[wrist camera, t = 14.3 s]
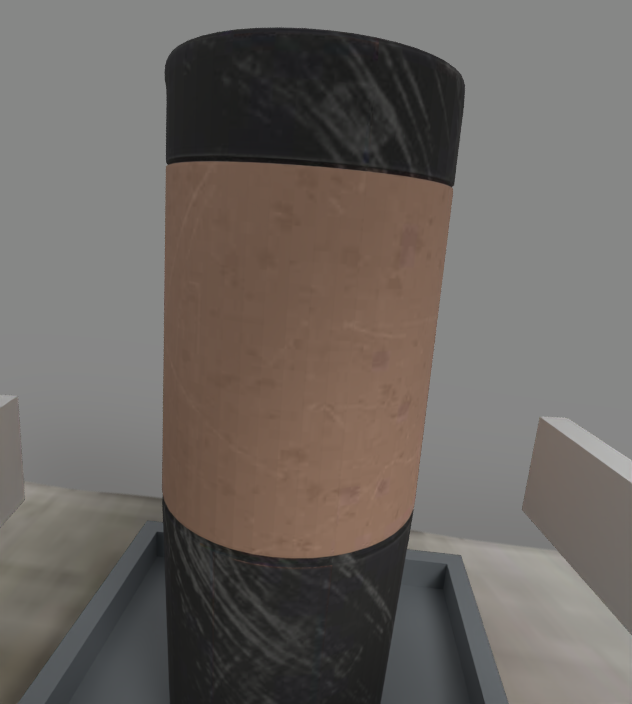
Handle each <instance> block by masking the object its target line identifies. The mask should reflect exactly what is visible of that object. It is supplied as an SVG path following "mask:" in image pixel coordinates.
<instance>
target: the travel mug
mask: <svg viewBox="0 0 632 704" xmlns="http://www.w3.org/2000/svg"><path fill="white" fill-rule="evenodd" d="M165 82H166V89H167V115H166V116H167V119H166V121H167V122H166V163H167V164H168V165H167V166H166V206H165V210H166V211H165V217H166V218H165V292H164V293H165V294H164V295H165V296H164V377H163V379H164V380H163V462H162V467H163V468H162V492H163V502H162V504H163V532H164V560H165V588H166V616H167V645H168V673H169V696H170V704H380V703H381V698H382V692H383V686H384V680H385V675H386V669H387V663H388V657H389V651H390V645H391V639H392V634H393V628H394V622H395V616H396V610H397V604H398V598H399V593H400V587H401V581H402V575H403V569H404V563H405V557H406V552H407V546H408V540H409V534H410V528H411V522H412V516H413V508H414V503H415V496H416V488H417V479H418V472H419V463H420V456H421V448H422V440H423V432H424V424H425V416H426V407H427V399H428V391H429V383H430V375H431V367H432V359H433V351H434V343H435V335H436V326H437V318H438V310H439V301H440V294H441V285H442V277H443V270H444V262H445V254H446V245H447V237H448V229H449V221H450V213H451V205H452V197H453V188H452V186H454V181H455V173H456V165H457V156H458V149H459V141H460V132H461V125H462V117H463V108H464V95H465V84H464V80H463V78H462V76H461V74H460V73H459V72H458V71H457V70H456V69H455V68H454V67H453V66H451V65H450V64H449V63H447V62H446V61H444V60H442V59H440V58H438V57H436V56H434V55H432V54H430V53H427V52H425V51H422V50H420V49H417V48H414V47H411V46H407V45H404V44H401V43H397V42H393V41H389V40H385V39H380V38H376V37H370V36H365V35H359V34H354V33H346V32H338V31H330V30H319V29H307V28H250V29H237V30H230V31H223V32H217V33H212V34H208V35H203V36H200V37H197V38H194V39H191V40H189V41H186V42H185V43H183V44H181V45H179V46H178V47H176V48H175V49H174V50H173V51H172V52H171V54H170V55H169V57H168V59H167V61H166V65H165Z"/></svg>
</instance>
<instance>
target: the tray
mask: <svg viewBox="0 0 632 704" xmlns="http://www.w3.org/2000/svg"><path fill="white" fill-rule="evenodd" d="M18 704H170V696H169V673H168V645H167V616H166V588H165V560H164V532H163V522H157V521H147V522H146V523H145V524H144V526H143V527H142V529H141V530H140V531H139V533H138V534H137V536H136V537H135V539H134V540H133V541H132V543H131V544H130V546H129V547H128V548H127V550H126V551H125V553H124V554H123V555H122V557H121V558H120V560H119V561H118V563H117V564H116V565H115V567H114V568H113V570H112V571H111V572H110V574H109V575H108V577H107V578H106V579H105V581H104V582H103V584H102V585H101V587H100V588H99V589H98V591H97V592H96V594H95V595H94V596H93V598H92V599H91V601H90V602H89V603H88V605H87V606H86V608H85V609H84V611H83V612H82V613H81V615H80V616H79V618H78V619H77V620H76V622H75V623H74V625H73V626H72V627H71V629H70V630H69V632H68V633H67V635H66V636H65V637H64V639H63V640H62V642H61V643H60V644H59V646H58V647H57V649H56V650H55V651H54V653H53V654H52V656H51V657H50V659H49V660H48V661H47V663H46V664H45V666H44V667H43V668H42V670H41V671H40V673H39V674H38V675H37V677H36V678H35V680H34V681H33V683H32V684H31V685H30V687H29V688H28V690H27V691H26V692H25V694H24V695H23V697H22V698H21V700H20V701H19V702H18ZM380 704H509V703H508V700H507V697H506V694H505V691H504V688H503V685H502V682H501V678H500V675H499V672H498V669H497V666H496V663H495V660H494V657H493V654H492V650H491V647H490V644H489V641H488V638H487V635H486V632H485V629H484V626H483V622H482V619H481V616H480V613H479V610H478V607H477V604H476V601H475V598H474V594H473V591H472V588H471V585H470V582H469V579H468V576H467V573H466V570H465V566H464V563H463V560H462V557H461V555H454V554H445V553H436V552H427V551H418V550H409V549H407V552H406V557H405V563H404V569H403V575H402V581H401V587H400V593H399V598H398V604H397V610H396V616H395V622H394V628H393V634H392V639H391V645H390V651H389V657H388V663H387V669H386V675H385V680H384V686H383V692H382V698H381V703H380Z"/></svg>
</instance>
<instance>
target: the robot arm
mask: <svg viewBox="0 0 632 704" xmlns="http://www.w3.org/2000/svg"><path fill="white" fill-rule="evenodd" d="M24 500H25V492H24V478H23V463H22V449H21V435H20V420H19V406H18V396H14V395H0V528H1V526H2V525H3V524H4V523H5V522H6V521H7V520H8V518H9V517H10V516H11V515H12V514H13V513H14V512H15V510H16V509H17V508H18V507H19V506H20V505H21V504H22V502H23V501H24ZM522 510H523V511H524V513H525V514H526V515H527V516H528V517H529V518H530V519H531V521H532V522H533V523H534V524H535V525H536V526H537V527H538V529H539V530H540V531H541V532H542V533H543V534H544V535H545V537H546V538H547V539H548V540H549V541H550V542H551V543H552V545H553V546H555V548H556V549H557V550H558V551H559V553H560V554H561V555H562V556H563V557H564V558H565V559H566V561H567V562H568V563H569V564H570V565H571V566H572V567H573V569H574V570H575V571H576V572H577V573H578V574H579V575H580V576H581V578H582V579H583V580H584V581H585V582H586V583H587V584H588V586H589V587H590V588H591V589H592V590H593V591H594V592H595V594H596V595H597V596H598V597H599V598H600V599H601V600H602V602H603V603H604V604H605V605H606V606H607V607H608V608H609V610H610V611H611V612H612V613H613V614H614V615H615V616H616V618H617V619H618V620H619V621H620V622H621V623H622V624H623V626H624V627H625V628H626V629H627V630H628V631H629V632H630V634H631V635H632V460H630V459H629V458H627V457H626V456H624V455H623V454H621V453H619V452H618V451H617V450H615V449H614V448H612V447H611V446H609V445H608V444H606V443H604V442H603V441H601V440H600V439H598V438H597V437H595V436H594V435H592V434H591V433H589V432H588V431H586V430H585V429H583V428H582V427H580V426H579V425H577V424H576V423H574V422H572V421H571V420H570V419H568V418H561V417H559V418H558V417H540V418H539V424H538V429H537V434H536V439H535V444H534V449H533V455H532V460H531V465H530V470H529V476H528V480H527V486H526V491H525V496H524V501H523V506H522Z"/></svg>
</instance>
